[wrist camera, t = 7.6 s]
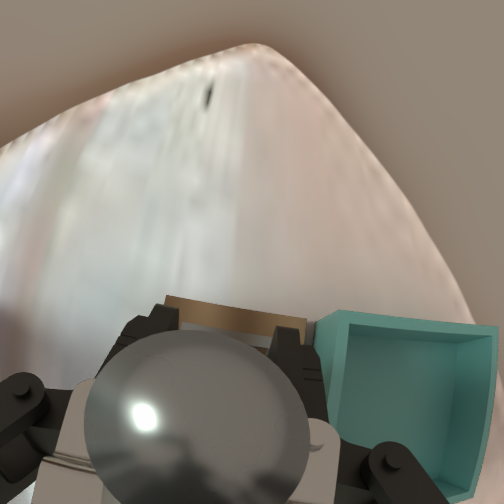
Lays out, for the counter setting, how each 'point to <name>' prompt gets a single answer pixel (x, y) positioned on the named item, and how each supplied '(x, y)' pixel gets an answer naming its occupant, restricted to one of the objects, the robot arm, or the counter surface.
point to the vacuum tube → (196, 423)
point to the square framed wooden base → (233, 322)
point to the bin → (412, 389)
